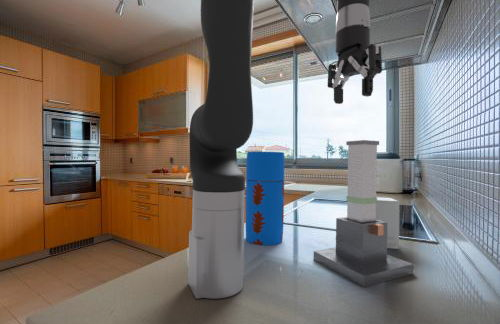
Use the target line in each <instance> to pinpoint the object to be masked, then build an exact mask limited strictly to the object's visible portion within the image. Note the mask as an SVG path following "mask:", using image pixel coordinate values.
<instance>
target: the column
mask: <svg viewBox="0 0 500 324" xmlns="http://www.w3.org/2000/svg"><path fill="white" fill-rule="evenodd" d="M345 143H346V145H345V146H348V148H347V149H348V151H347V152H348V153H347V157H348V158H347V195H346V198H345V199H346V201H345V202H347V206H346V207H347V208H346V210H347V215H346V217H347V220H350V221H353V222H357V223H361V224H367V223H375V222H376V203H377V198H376V197H377V170H378V169H377V167H378V165H377V163H378V162H377V161H378V160H377V157H378V155H377V154H378V146H380V140H367V139H365V140H364V139H360V140H350V141H346V142H345Z"/></svg>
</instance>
